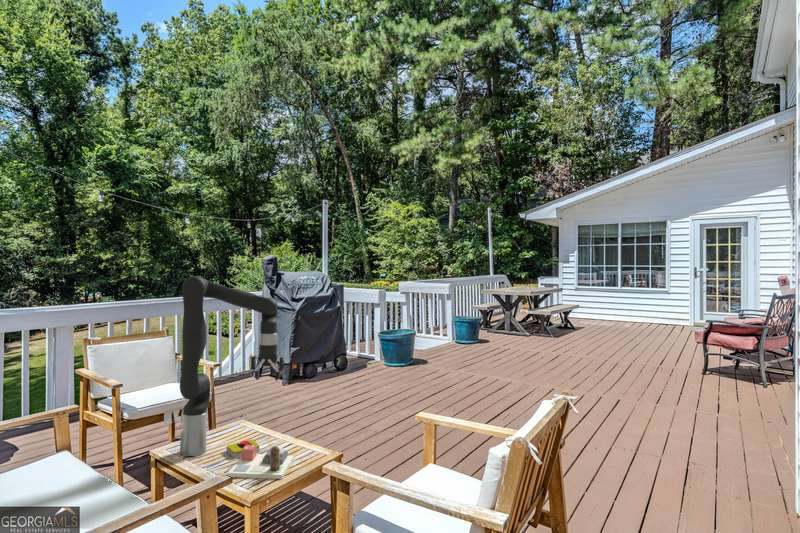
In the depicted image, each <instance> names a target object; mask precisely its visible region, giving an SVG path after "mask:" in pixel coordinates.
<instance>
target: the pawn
mask: <svg viewBox="0 0 800 533" xmlns="http://www.w3.org/2000/svg"><path fill="white" fill-rule="evenodd" d="M273 446H274V447H272V446H271V447H272V448H271V454H270V470H271V471H278V470H279V469H280V453H279V451H280V449H279V447H277V446H278V445H273Z"/></svg>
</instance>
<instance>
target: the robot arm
mask: <svg viewBox="0 0 800 533" xmlns="http://www.w3.org/2000/svg"><path fill="white" fill-rule="evenodd" d="M181 293H182V302H183V316H182V318H183V319H182V334H181V336H182V339H181V340H182V342H181V343H182V353H181V354H182V356H181V357H182V358H181V371H180V379H179V392H180V394H181V397H183V399H185V400H188V401H187V402H186V403H185V405H184V407H183V410H182V431H180V438H179V439H180V440H179V441H180V442H179V446H180V448H179V455H180V454H183V455H185V456H195V457H199V456H202V455H203V454H205V453H206V451H207V431H208V430H207V426H208V425H207V423H208V422H207V421H208V420H207V419H208V407H209V405H210V400H211V399H210V396H211V381H210V377H209V376H208V375H207V374H205V373H203V372H199V365H200V361H201V358H202V356H203V354H204V352H205V348H206V345H207V325H206V319H205V314H204V298H209V299H215V300H219V301H222V302H224V303H227V304H230V305H232V306H236V307H239V308H245V309H246V310H247V309H248V310H251V311H255V312H257V313H261V321H260V326H259V328H260V330H259V332H260V333H259V342H258V344H259V346H258V349H259V350H258V354H259V355H256V354H255V355H252V356H251V363H250V370H253V371H254V378H255V379H256V381H257V380H259V379H260V371H261V370H260V369H261V368H262V366H263V367H272V368H273V369H274V370H275V373H274V374H275V375H274V376H275V379H274V380H275V381H278V380H279V379H281V378H280V375H281V372H282V371H284V370H285V356H283V355H281V356H278V321H277V318H278V306H279V304H278V301H277V300H276V299H275V298H274V297H264V296H260V295H257V294H255V293H253V292H250V291H249V292H248V291H244V290H242V289H237V288H232V287H228V286H225V285H221V284H218V283H215V282H213V281H210V280H208V279H206V278H204V277H202V276H199V275H192V276H189V277H186V278H185V279H184V280H183V282H182V285H181ZM257 361H259V364H256V363H257ZM277 361H278V362H279V363H278V362H277ZM278 364H279V365H278ZM183 455H182V456H183ZM185 456H184V457H185Z"/></svg>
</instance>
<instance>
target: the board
mask: <svg viewBox="0 0 800 533" xmlns="http://www.w3.org/2000/svg"><path fill="white" fill-rule="evenodd" d="M293 459H294V460H295V455H289V451H288V450H284V454H283V455H282V456H280V469H279V470H278V471H271V470H270V457H269V456H268V455H267V453H264V454H263V453H262V454H259V453H257V455H256V457H255V458H254V460H253V461H243V460H242V457H240V458H239V459H238V460H237V461H236V462H235V464H234V465H233V466H232V467H231V468H230V469H229V471H227V475H228V476H231V477H230V478H249V479H250V478H251V479H273V480H274V479H277V480H283V478H284V476H285V475H286V473H287V471H288V470H289V468H290V467H291V465H292V464H293V462H292V461H294V460H293ZM290 464H291V465H290ZM289 466H290V467H289Z"/></svg>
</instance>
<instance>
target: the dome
mask: <svg viewBox="0 0 800 533" xmlns="http://www.w3.org/2000/svg"><path fill="white" fill-rule="evenodd" d="M274 446H275V445H272V446H270V447H269V448H268V449H267V452H266V454H267V455H268V456H269V457H270V454H271V448H272V447H274ZM276 446H277V447H279V449H280V451H279V453H280V456H282V455H283V454H284V451H285V449H284V448H283V447H282V446H280V445H276Z"/></svg>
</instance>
